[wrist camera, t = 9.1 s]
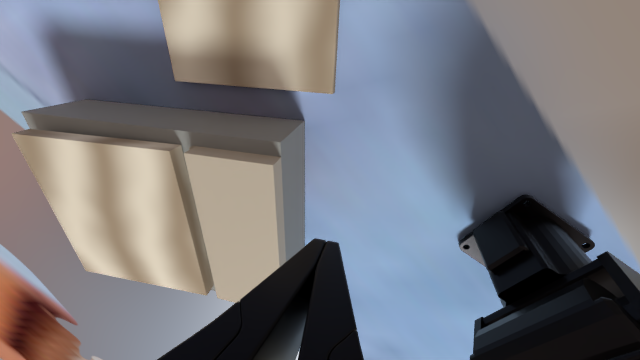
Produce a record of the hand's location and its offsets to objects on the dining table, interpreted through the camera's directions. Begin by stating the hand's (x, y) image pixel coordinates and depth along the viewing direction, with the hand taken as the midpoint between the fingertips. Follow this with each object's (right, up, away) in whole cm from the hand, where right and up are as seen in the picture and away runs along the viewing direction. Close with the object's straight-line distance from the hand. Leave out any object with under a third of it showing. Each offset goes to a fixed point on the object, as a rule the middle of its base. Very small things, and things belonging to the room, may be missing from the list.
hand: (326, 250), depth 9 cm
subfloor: (-12, +2, +18) cm, 22 cm away
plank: (-5, +13, +10) cm, 17 cm away
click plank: (-16, -1, +14) cm, 21 cm away
